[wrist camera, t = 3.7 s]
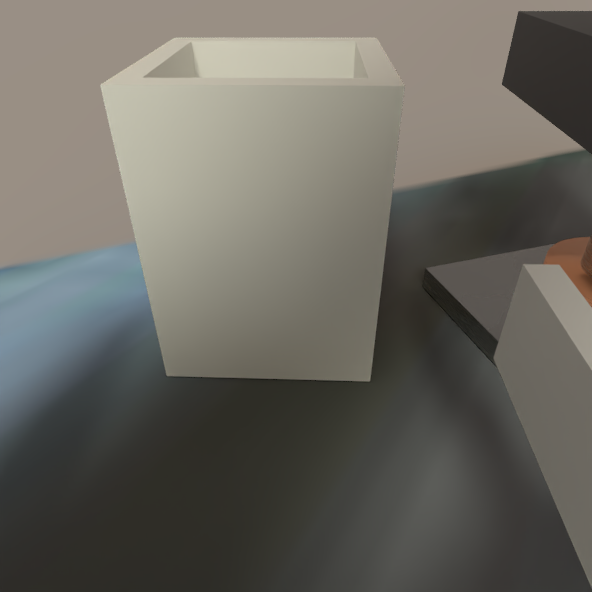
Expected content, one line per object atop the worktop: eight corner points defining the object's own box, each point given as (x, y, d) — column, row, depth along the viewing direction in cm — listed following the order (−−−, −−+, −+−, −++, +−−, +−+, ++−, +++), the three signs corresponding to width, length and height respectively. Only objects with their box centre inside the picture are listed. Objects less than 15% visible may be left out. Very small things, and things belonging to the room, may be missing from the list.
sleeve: (357, 269, 23) (376, 38, 18) (370, 381, 17) (404, 85, 12) (205, 267, 24) (174, 37, 18) (166, 375, 18) (100, 85, 12)
